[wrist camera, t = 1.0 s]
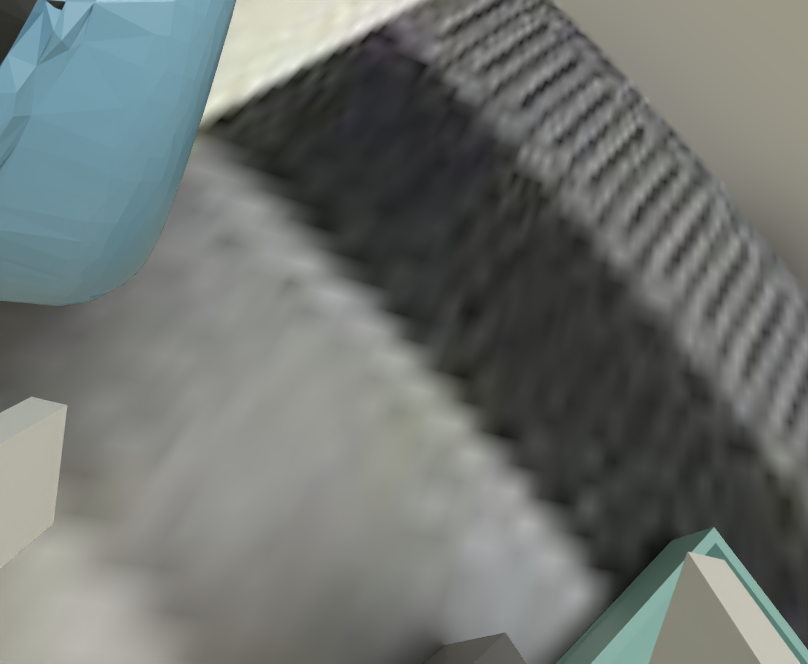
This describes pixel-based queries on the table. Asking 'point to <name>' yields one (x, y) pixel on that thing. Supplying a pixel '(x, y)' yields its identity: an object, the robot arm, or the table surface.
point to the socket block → (479, 652)
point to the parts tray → (664, 607)
